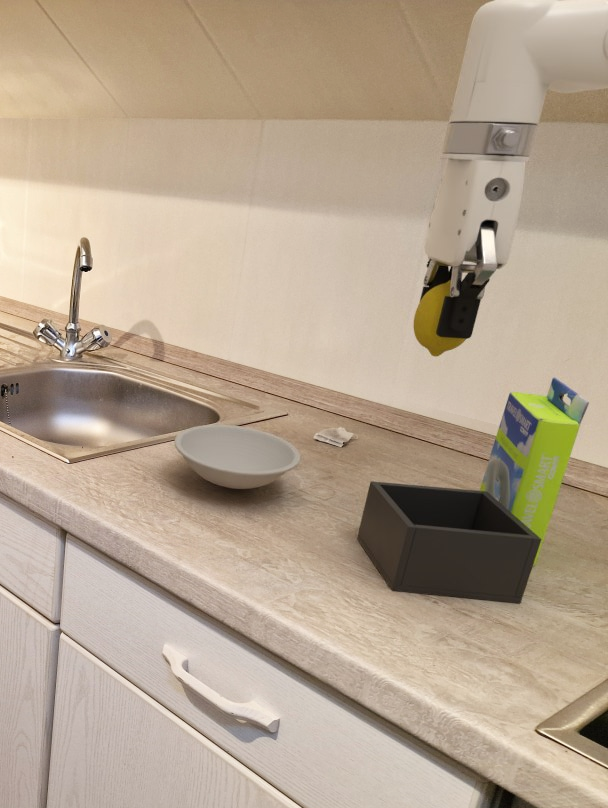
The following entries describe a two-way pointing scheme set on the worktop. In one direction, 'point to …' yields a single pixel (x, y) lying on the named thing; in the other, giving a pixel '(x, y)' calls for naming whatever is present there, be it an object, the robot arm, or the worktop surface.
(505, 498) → the box
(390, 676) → the worktop surface
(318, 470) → the worktop surface
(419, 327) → the lemon
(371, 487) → the basket
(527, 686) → the worktop surface
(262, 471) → the dish
